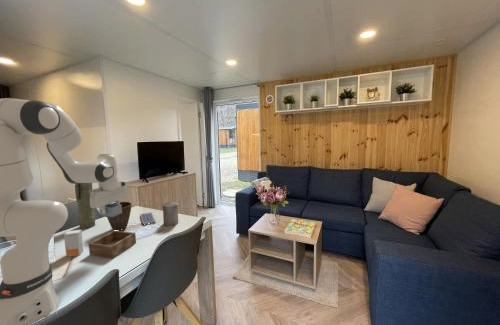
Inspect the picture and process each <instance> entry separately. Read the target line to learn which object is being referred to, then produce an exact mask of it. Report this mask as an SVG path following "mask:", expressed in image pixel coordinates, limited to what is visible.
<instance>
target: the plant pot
mask: <svg viewBox="0 0 500 325" xmlns="http://www.w3.org/2000/svg"><path fill="white" fill-rule="evenodd" d="M111 204H116V202H113V203H111ZM120 204H121V205H122V214H120V215H118V216H115V217H113V218H112V217H106V218H107V221H108V224H109V225H110V227H111V229H112V231H113V230H121V229H124V228H126V229H127V227H128V224H129V221H130V217H131V212H132V202H130V201H120ZM124 230H125V229H124Z"/></svg>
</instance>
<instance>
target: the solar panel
mask: <svg viewBox="0 0 500 325" xmlns="http://www.w3.org/2000/svg"><path fill="white" fill-rule="evenodd" d="M140 220H141V223H143V224H148V223H154V224H156V220H155V217H154V215H153V212H144V213H140ZM143 224H142V225H143Z"/></svg>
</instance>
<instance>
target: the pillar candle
mask: <svg viewBox="0 0 500 325" xmlns="http://www.w3.org/2000/svg"><path fill="white" fill-rule="evenodd" d="M178 206H179V205H178V202H176V201H170V202H169V201H168V202H164V203H163V204H162V213H163V225H164V226H167V227H168V226H169V227H170V226H175V225H177V224H178V223H179V210H178V209H179V208H178Z"/></svg>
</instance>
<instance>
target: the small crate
mask: <svg viewBox="0 0 500 325" xmlns="http://www.w3.org/2000/svg"><path fill="white" fill-rule="evenodd" d="M98 210H99V217H101V218H102V217H103V218H104V217H105V218H107V217H112V218H113V217H115V216H118V215H120V214H122V205H121V204H112V203H110V204H107V205H105V210H107V213H106V214H102V210H101V209H100V208H99V209H98Z"/></svg>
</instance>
